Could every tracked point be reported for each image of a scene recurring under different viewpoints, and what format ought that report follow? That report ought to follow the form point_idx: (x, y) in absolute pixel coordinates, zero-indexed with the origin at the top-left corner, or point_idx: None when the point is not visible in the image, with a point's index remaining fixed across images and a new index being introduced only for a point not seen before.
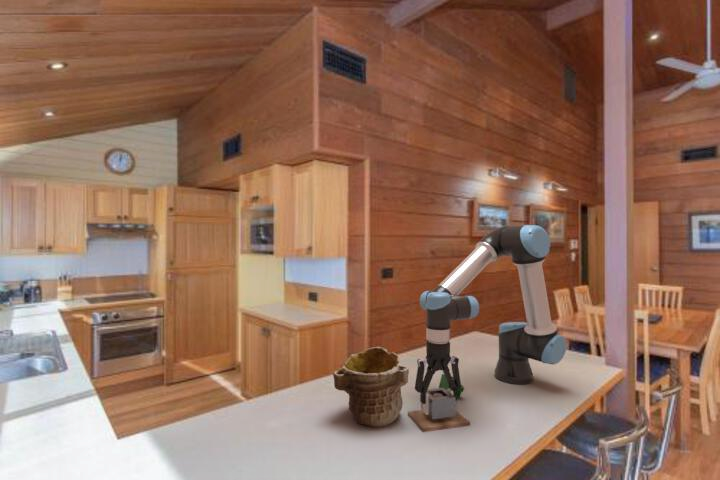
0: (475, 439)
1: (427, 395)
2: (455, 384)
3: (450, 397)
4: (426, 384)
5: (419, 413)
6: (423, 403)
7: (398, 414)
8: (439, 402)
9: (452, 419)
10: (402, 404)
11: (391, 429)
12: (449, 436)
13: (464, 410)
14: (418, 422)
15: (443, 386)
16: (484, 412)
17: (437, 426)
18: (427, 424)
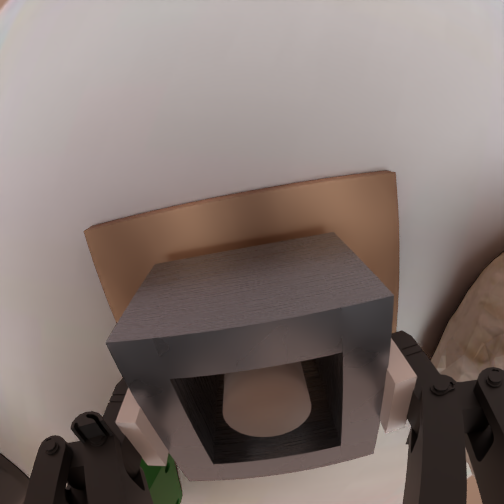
0: (114, 65)
1: (402, 372)
2: (84, 475)
3: (159, 342)
4: (460, 454)
5: None
6: (398, 333)
7: (479, 294)
8: (298, 295)
9: None
10: (463, 353)
11: (493, 221)
12: (251, 98)
13: (99, 371)
14: (394, 249)
15: (168, 497)
16: (26, 339)
17: (303, 186)
18: (355, 219)
